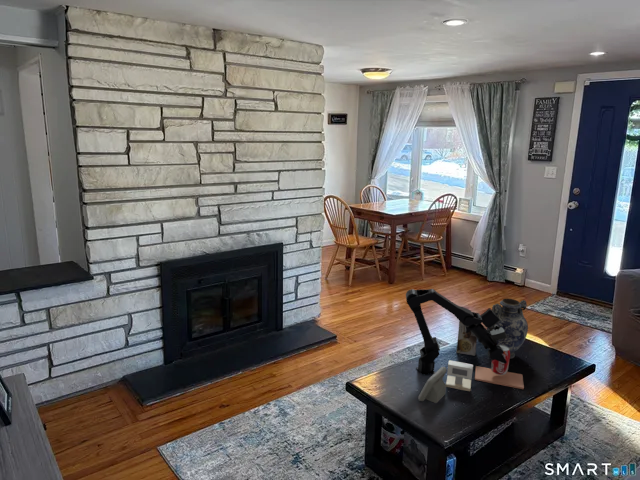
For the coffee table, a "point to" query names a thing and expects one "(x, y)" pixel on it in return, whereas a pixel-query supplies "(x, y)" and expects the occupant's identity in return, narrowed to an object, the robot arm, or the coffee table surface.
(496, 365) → the soda can
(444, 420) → the coffee table surface
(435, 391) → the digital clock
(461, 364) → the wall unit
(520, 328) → the decorative vase
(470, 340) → the coffee box
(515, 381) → the pad
